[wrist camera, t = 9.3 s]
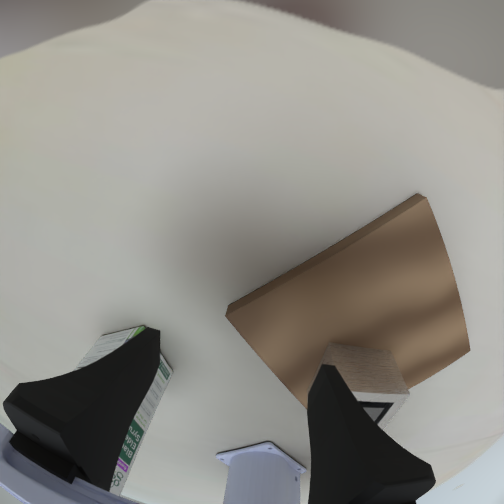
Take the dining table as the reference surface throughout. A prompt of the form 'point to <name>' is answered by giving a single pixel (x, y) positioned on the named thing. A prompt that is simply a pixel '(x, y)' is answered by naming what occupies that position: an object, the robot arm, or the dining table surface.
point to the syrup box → (145, 410)
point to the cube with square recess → (368, 377)
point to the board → (362, 302)
